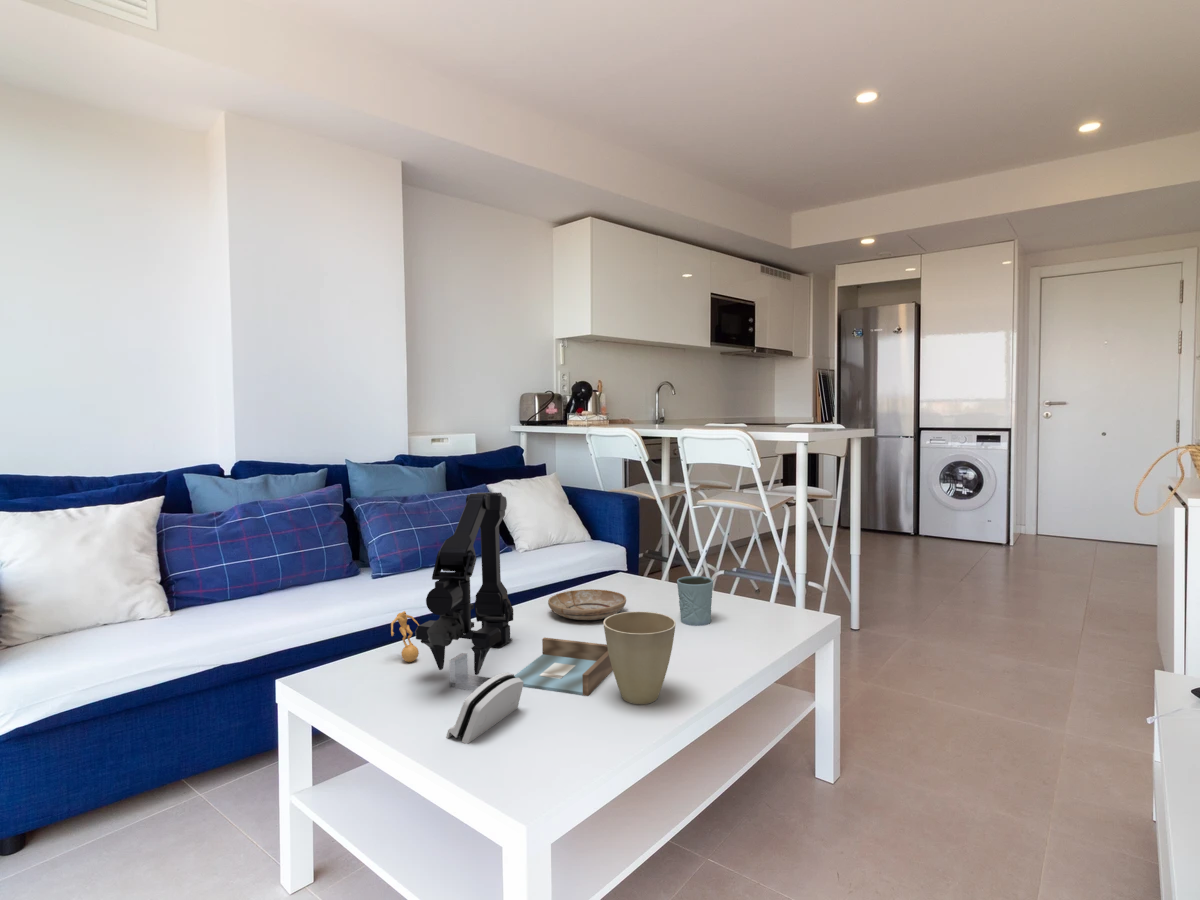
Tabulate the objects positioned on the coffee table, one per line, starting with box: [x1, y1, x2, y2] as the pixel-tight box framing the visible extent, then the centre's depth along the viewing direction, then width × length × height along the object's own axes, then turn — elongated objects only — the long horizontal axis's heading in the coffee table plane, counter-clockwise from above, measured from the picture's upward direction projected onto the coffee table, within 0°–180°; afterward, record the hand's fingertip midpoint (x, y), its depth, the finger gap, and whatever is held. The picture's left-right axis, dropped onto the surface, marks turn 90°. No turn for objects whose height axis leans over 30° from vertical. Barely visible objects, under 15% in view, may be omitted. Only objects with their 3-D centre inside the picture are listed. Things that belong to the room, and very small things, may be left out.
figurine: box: [390, 610, 420, 663], centre depth 160 cm, size 8×6×12 cm
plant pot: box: [602, 611, 677, 705], centre depth 137 cm, size 15×15×16 cm
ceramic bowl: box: [547, 588, 627, 621], centre depth 198 cm, size 23×24×5 cm
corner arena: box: [514, 636, 613, 697], centre depth 151 cm, size 19×19×4 cm
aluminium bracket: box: [448, 652, 492, 692], centre depth 145 cm, size 8×5×6 cm, turn 69°
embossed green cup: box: [676, 575, 714, 627], centre depth 189 cm, size 10×10×12 cm
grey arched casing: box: [445, 672, 524, 745], centre depth 126 cm, size 17×5×10 cm, turn 154°
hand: (458, 671), depth 146 cm, fingers open, 9 cm apart
